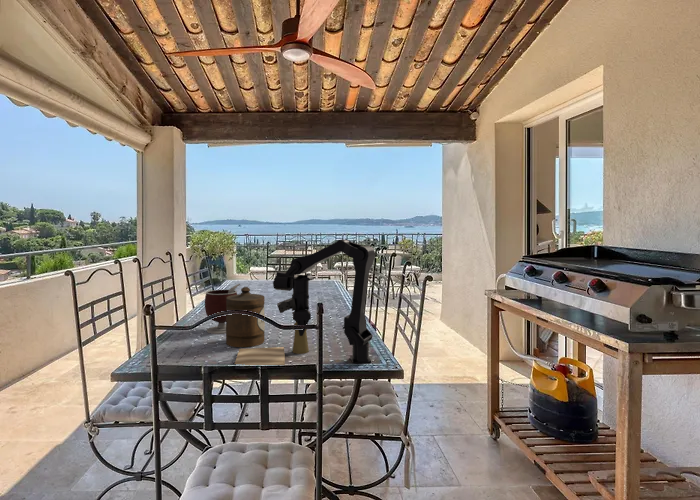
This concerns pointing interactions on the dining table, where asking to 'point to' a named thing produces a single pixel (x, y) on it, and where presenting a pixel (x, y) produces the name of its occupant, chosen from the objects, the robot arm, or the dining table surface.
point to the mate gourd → (218, 307)
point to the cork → (300, 343)
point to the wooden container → (245, 320)
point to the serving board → (261, 356)
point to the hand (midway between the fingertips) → (300, 333)
